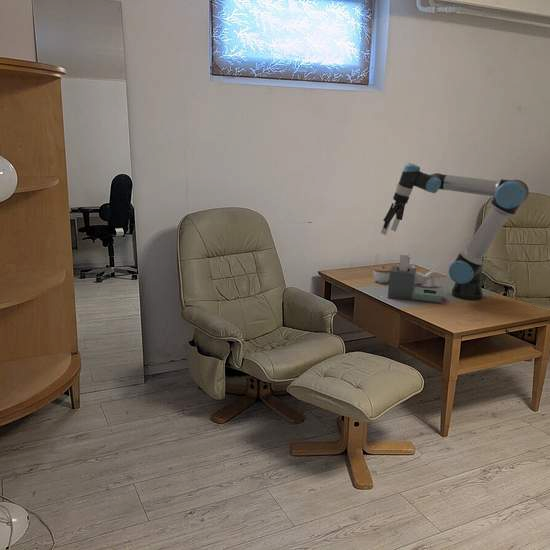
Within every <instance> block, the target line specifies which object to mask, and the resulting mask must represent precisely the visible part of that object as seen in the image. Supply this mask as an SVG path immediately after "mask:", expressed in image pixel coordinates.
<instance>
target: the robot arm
mask: <svg viewBox="0 0 550 550" xmlns="http://www.w3.org/2000/svg"><path fill="white" fill-rule="evenodd" d="M420 170H421V167H420V166H419V165H417V164H415V163H410V162H409V163H405V166H404V168H403V170H402V171H401V176H400V178H399V181H398V183H397V185H396V189H395V192H394V195H393V197H392V199H393V201H394V203H393V202H392V203H391V205H390V207H389V209H388V211H387V213H386V214H385V217H384V219H383V222H384V223H383V226H382V228H381V231H380V234H382V235H384V236H386V235H387V233H388V230H389V228H390V225H391V221H392V219H393V218H394V217H395V218H394V220H393V223H392V225H391V228H390V230H392V231H393V232H397V230H398V229H397V228H398V226H399V224H400V221H403V216H404V212H405V207H406V204H408V202H409V199H410V196H411V194H412V191H413V189H414V187H416V188H419V189H421V190H424V191H426V192H428V193H431V194H436V193H438V192H439V190H443V191H453V192H458V193H465V194H472V195H478V196H480V195H481V196H487V197H493V198H492V200H491V201H490V205H491V208H490V209H489V212H488V213H487V214H486V215H485V217H484V219H483V221H482V223H481V224H480V226H479V227H478V229H477V231H476V232H475V234H474V236H473V237H472V238H471V240H470V242H469V244H468V245H467V247H466V248H465V249H464V250H461V251H460V252H459V254H458V255H457V257H456V258H455V260H454V261H453V262H452V263H451V264H450V265H449V268H448V276H449V277H450V279H451V280H452V281H453V282H454V285H453V287H452V289H451V295H452V297H454V298H457V299H462V300H467V301H469V300H470V301H478V300H482V298H483V295H484V294H483V290H482V288H483V287H482V285H481V284H482V283H481V281H482V273H483V265H484V261H485V260H484V256H485V254H486V253H487V251H488V250H489V248H490V246H491V245H492V244H493V241H494V240H495V239H496V237H497V235H498V234H499V233H500V231H501V229H502V227H503V226H504V224H505V223H506V222H507V220H508V218H509V217H511V216H514V215H515V214H516V212H517V211H518V209H519V207H520V206H521V204H522V203H524V202H526V200H527V198H528V197H529V193H530V192H529V191H530V189H529V187H528V185H527V184H526V183H525V182H524V181H523V180H519V179H499V180H493V179H492V180H491V179H484V178H482V179H481V178H476V177H475V178H474V177H469V176H458V175H449V174H444V173H443V174H442V173H439V172H438V173H437V172H436V173H432V174H427V173H424V172H422V171H420Z"/></svg>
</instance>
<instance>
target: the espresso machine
mask: <svg viewBox="0 0 550 550" xmlns="http://www.w3.org/2000/svg"><path fill="white" fill-rule="evenodd" d="M390 268H391V270H390V276H389V281H388V289H387V290H388V291H387V299H393V300H394V299H395V300H403V301H410V302H419V303H420V302H421V303H426V304H434V305H435V304H438V305H442V301H443V292H444V290H443V289H437V288H436V289H435V288H428V287H420V286H416V283H415V279H416V271H417V267H416V268H412V267H409V266H408V272H407V271H399V265H398V266H397V265H392V266H391V267H390Z"/></svg>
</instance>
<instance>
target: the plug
mask: <svg viewBox="0 0 550 550" xmlns="http://www.w3.org/2000/svg"><path fill="white" fill-rule="evenodd" d="M410 260H411V257H410V253H405V252H404V253H403V252H402V253H400V255H399V263H398V264H399V265H398V266H399V271H407V272H408V267H409V265H408V264H409V263H411V262H410Z"/></svg>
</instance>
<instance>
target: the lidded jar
mask: <svg viewBox="0 0 550 550" xmlns="http://www.w3.org/2000/svg"><path fill="white" fill-rule="evenodd" d="M391 268H392V267H390V266H385V265H384V264H383V265H378V266H374V267H373V270H372V271H373V277H374V280H375V281H376V282H377V283H379V284H387V283H389V276H390V270H391Z"/></svg>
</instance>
